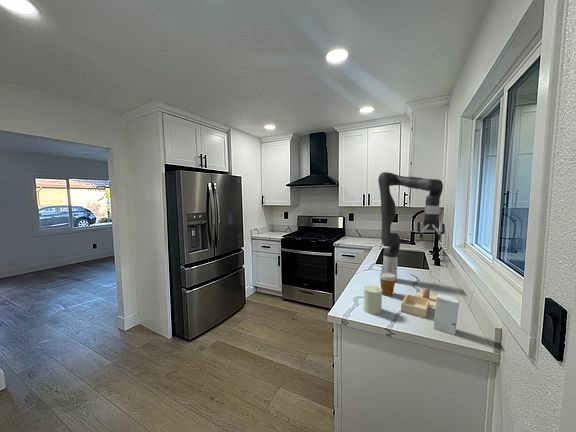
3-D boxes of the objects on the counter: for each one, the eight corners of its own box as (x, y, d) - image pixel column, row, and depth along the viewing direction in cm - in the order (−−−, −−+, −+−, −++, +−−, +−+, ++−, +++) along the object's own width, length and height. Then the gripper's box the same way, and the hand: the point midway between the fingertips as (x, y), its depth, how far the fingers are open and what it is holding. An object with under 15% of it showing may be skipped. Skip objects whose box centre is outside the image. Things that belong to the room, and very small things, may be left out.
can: (379, 316, 118) (380, 293, 117) (360, 311, 123) (361, 289, 122) (383, 308, 126) (384, 286, 125) (365, 304, 131) (366, 283, 130)
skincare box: (433, 328, 107) (435, 297, 106) (435, 323, 112) (437, 292, 111) (455, 335, 102) (458, 302, 101) (457, 329, 107) (459, 297, 105)
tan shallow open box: (400, 311, 123) (401, 303, 122) (406, 301, 134) (406, 293, 133) (425, 318, 116) (425, 309, 116) (428, 307, 127) (429, 299, 127)
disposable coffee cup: (394, 291, 147) (395, 273, 146) (396, 298, 138) (397, 278, 137) (378, 289, 150) (379, 271, 149) (378, 296, 141) (379, 276, 140)
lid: (412, 302, 134) (413, 290, 134) (417, 293, 146) (417, 283, 145) (436, 308, 128) (436, 296, 127) (438, 298, 139) (439, 287, 138)
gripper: (417, 212, 143) (415, 239, 145) (445, 214, 134) (443, 242, 136) (419, 211, 149) (417, 237, 151) (446, 213, 140) (444, 240, 142)
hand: (430, 239), depth 143 cm, fingers open, 8 cm apart
